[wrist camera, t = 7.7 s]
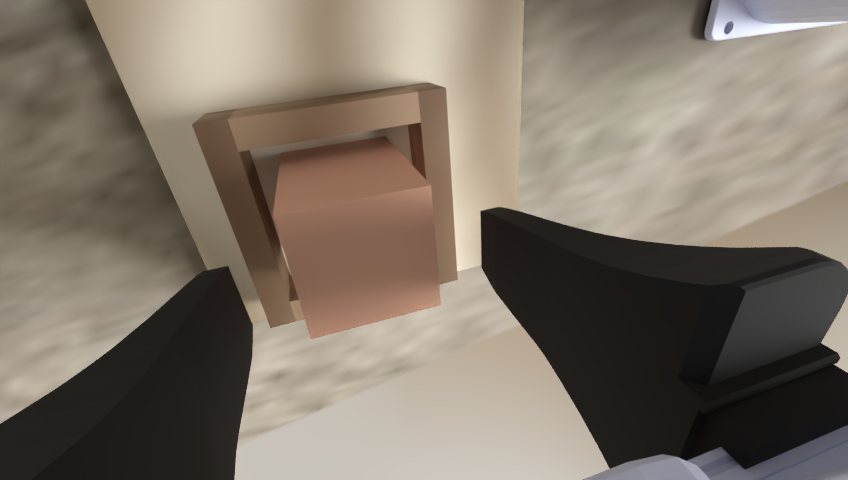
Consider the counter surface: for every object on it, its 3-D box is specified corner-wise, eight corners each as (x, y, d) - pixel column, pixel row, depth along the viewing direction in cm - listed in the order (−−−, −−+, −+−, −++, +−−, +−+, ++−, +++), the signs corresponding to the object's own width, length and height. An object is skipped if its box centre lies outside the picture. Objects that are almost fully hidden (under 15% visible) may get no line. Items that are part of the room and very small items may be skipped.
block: (385, 136, 15) (431, 185, 10) (397, 225, 17) (440, 305, 12) (281, 152, 14) (272, 215, 9) (306, 244, 16) (311, 339, 11)
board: (517, -351, 11) (585, -472, 8) (507, 247, 21) (536, 276, 18) (-86, -422, 8) (-266, -641, 5) (236, 314, 18) (226, 359, 15)
